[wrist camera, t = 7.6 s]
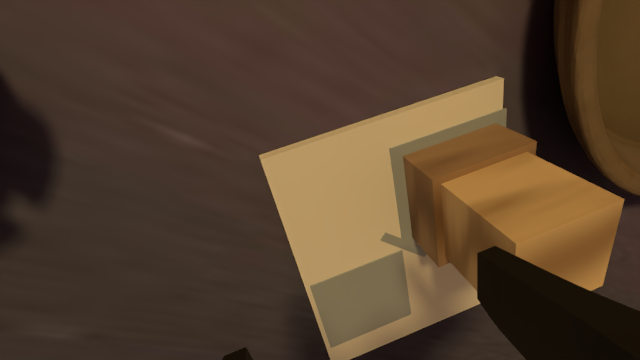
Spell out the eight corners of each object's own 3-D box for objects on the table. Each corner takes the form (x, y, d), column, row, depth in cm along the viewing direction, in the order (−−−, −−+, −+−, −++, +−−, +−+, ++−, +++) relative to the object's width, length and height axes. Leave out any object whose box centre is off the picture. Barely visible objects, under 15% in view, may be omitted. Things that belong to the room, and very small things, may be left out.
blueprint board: (492, 291, 30) (498, 297, 29) (330, 359, 28) (333, 368, 27) (499, 75, 20) (508, 77, 20) (258, 155, 18) (260, 160, 18)
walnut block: (493, 205, 24) (528, 230, 21) (412, 237, 23) (438, 267, 21) (495, 123, 21) (537, 141, 18) (402, 156, 20) (432, 180, 18)
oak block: (521, 226, 21) (602, 285, 17) (445, 257, 20) (510, 326, 16) (527, 151, 19) (624, 199, 14) (440, 184, 18) (516, 243, 14)
